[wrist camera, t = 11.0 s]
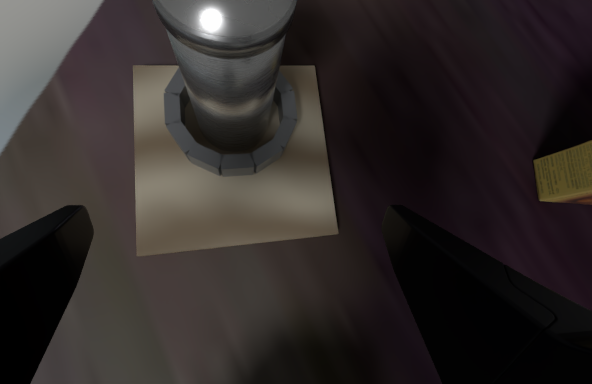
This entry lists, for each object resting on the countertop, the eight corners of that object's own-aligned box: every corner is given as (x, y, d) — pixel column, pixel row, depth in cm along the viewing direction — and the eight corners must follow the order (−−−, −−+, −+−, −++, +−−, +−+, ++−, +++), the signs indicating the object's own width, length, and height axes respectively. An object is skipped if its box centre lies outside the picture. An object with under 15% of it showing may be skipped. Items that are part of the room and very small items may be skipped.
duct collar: (298, 171, 23) (303, 164, 21) (173, 180, 21) (166, 173, 19) (285, 65, 25) (288, 49, 23) (168, 65, 23) (162, 48, 21)
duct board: (334, 234, 24) (338, 233, 23) (141, 256, 21) (136, 256, 20) (312, 72, 26) (314, 65, 25) (137, 73, 23) (132, 65, 22)
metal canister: (281, 137, 23) (324, 14, 11) (214, 165, 22) (182, 59, 10) (251, 76, 24) (260, -103, 12) (184, 100, 23) (117, -74, 11)
